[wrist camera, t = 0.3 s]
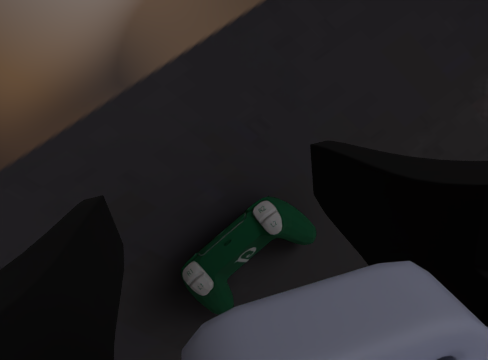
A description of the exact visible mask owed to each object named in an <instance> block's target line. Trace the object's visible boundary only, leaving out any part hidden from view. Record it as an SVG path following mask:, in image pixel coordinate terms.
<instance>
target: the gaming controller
mask: <svg viewBox="0 0 488 360" xmlns="http://www.w3.org/2000/svg"><path fill="white" fill-rule="evenodd" d="M315 237H316V229H315V227H314V225H313V224H312V223H311V222H310V221H309V219H308V218H307V217H305V216H304V215H303V214H302V213H301V212H300V211H298V210H297V209H296V208H295V207H293V206H292V205H290V204H288V203H287V202H285V201H283V200H280V199H278V198H275V197H269V196H268V197H266V198H262V199H260V200H258V201H257V202H256V203H254V204H253V205H252V206H251V207H249V208H248V209H247V210H246V211H245V214H244V213H243V214H242V215H241V216H239V217H238V218H237V219H236V220H235V221H234V222H232V223H231V224H230V225H229V226H228V227H227V228H225V229H224V230H223V231H222V232H221V233H220V234H219V235H217V236H216V237H215V238H214V239H213V240H212V241H210V242H209V243H208V244H207V245H206V246H205V247H204V248H202V249H201V250H200V251H199V252H198V253H196V254H195V255H194V256H193V257H192V258H191V259H190V260H188V261H187V262H186V263H185V265H184V266H183V267H182V268H181V276H182V279H183V282H184V284H185V286H186V287H187V289H188V290H189V292H190V293H191V294H192V295H193V296H194V297H195V298H196V300H197V301H199V302H200V303H201V304H202V305H204V306H205V307H206V308H207V309H209V310H210V311H211V312H213V313H215V314H219V315H220V314H222V313H224V312H226V311H228V310H230V309H231V308H233V307H234V301H233V294H232V292H231V290H230V288H229V286H228V284H227V279H228V278H229V277H230V276H231V275H232V274H233V273H234V272H235V271H236V270H238V269H239V268H240V267H241V266H242V265H243V264H245V263H246V262H247V261H248V260H249V259H250V258H252V257H253V256H254V255H255V254H256V253H257V252H259V251H260V250H261V249H262V248H263V247H264V246H266V245H267V244H268V243H269V242H270V241H271V240H273V239H275V238H282V239H285V240H288V241H290V242H293V243H296V244H301V245H307V244H311V243H313V242H314V240H315Z"/></svg>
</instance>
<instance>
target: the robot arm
mask: <svg viewBox="0 0 488 360" xmlns="http://www.w3.org/2000/svg"><path fill="white" fill-rule="evenodd" d="M310 146H311V161H312V176H313V191H314V195H315V197H316V199H317V201H318V202H319V204H320V206H321V207H322V209H323V210H324V212H325V214H326V215H327V216H328V217H329V219H330V220H331V221H332V222H333V223H334V225H335V226H336V227H337V228H338V229H339V230H340V232H341V233H342V234H343V235H344V236H345V237H346V239H347V240H348V241H349V242H350V243H351V244H352V245H353V247H354V248H355V249H356V250H357V251H358V252H359V254H360V255H361V256H362V257H363V259H364V260H365V261H366V262H367V264H368V265H369V266H367V267H364V268H361V269H357V270H354V271H351V272H347V273H344V274H341V275H338V276H334V277H331V278H328V279H324V280H321V281H318V282H314V283H311V284H308V285H305V286H301V287H298V288H295V289H291V290H288V291H285V292H282V293H278V294H275V295H272V296H268V297H265V298H262V299H259V300H255V301H252V302H249V303H245V304H242V305H239V306H236V307H233V308H231V309H230V310H228V311H226V312H224V313H222V314H220V315H218V316H216V317H214V318H212V319H210V320H208V321H206V322H205V323H203V324H202V325H201V326H200V327H199V329H198V330H197V331H196V332H195V334H194V335H193V336H192V337H191V339H190V340H189V341H188V343H187V344H186V345H185V346H184V348H183V349H182V355H181V360H488V161H451V160H436V159H427V158H417V157H410V156H403V155H398V154H392V153H386V152H382V151H377V150H372V149H368V148H363V147H359V146H354V145H350V144H346V143H341V142H335V141H323V142H319V143H315V144H311V145H310ZM123 272H124V250H123V243H122V240H121V238H120V235H119V233H118V230H117V228H116V226H115V223H114V221H113V218H112V216H111V213H110V211H109V208H108V206H107V203H106V201H105V199H104V196H99V197H95V198H91V199H86V200H83V201H82V202H80V203H79V204H78V205H77V206H75V207H74V208H73V209H72V210H71V211H70V212H69V213H68V214H67V215H65V216H64V217H63V218H62V219H61V220H60V221H59V222H58V223H57V224H56V225H55V226H53V227H52V228H51V229H50V230H49V231H48V232H47V233H46V234H45V235H43V236H42V237H41V238H40V239H39V240H38V241H36V242H35V243H34V244H33V245H32V246H30V247H29V248H28V249H27V250H26V251H25V252H23V253H22V254H21V255H20V256H18V257H17V258H16V259H14V260H13V261H12V262H10V263H9V264H8V265H6V266H5V267H4V268H2V269H1V270H0V360H114V339H115V329H116V322H117V315H118V308H119V301H120V295H121V287H122V280H123Z"/></svg>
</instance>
